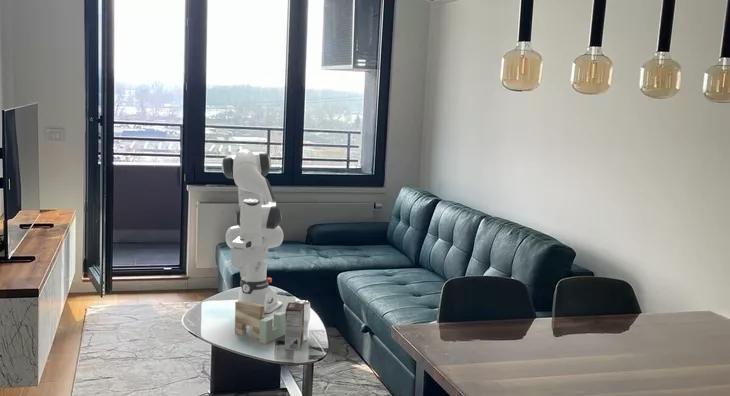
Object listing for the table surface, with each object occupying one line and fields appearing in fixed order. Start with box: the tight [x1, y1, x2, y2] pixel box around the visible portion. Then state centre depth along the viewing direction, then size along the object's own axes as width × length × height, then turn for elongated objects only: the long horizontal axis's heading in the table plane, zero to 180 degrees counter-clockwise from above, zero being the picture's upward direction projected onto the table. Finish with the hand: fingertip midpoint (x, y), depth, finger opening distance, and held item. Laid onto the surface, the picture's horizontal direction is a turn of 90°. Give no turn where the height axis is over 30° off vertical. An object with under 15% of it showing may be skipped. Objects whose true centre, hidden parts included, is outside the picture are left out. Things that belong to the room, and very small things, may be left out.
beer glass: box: [293, 300, 311, 343], centre depth 275 cm, size 7×7×15 cm
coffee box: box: [284, 302, 304, 351], centre depth 267 cm, size 9×6×16 cm
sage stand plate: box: [259, 311, 286, 345], centre depth 275 cm, size 14×3×9 cm, turn 153°
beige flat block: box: [234, 300, 265, 339], centre depth 277 cm, size 3×12×13 cm, turn 63°
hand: (250, 274), depth 275 cm, fingers open, 8 cm apart
